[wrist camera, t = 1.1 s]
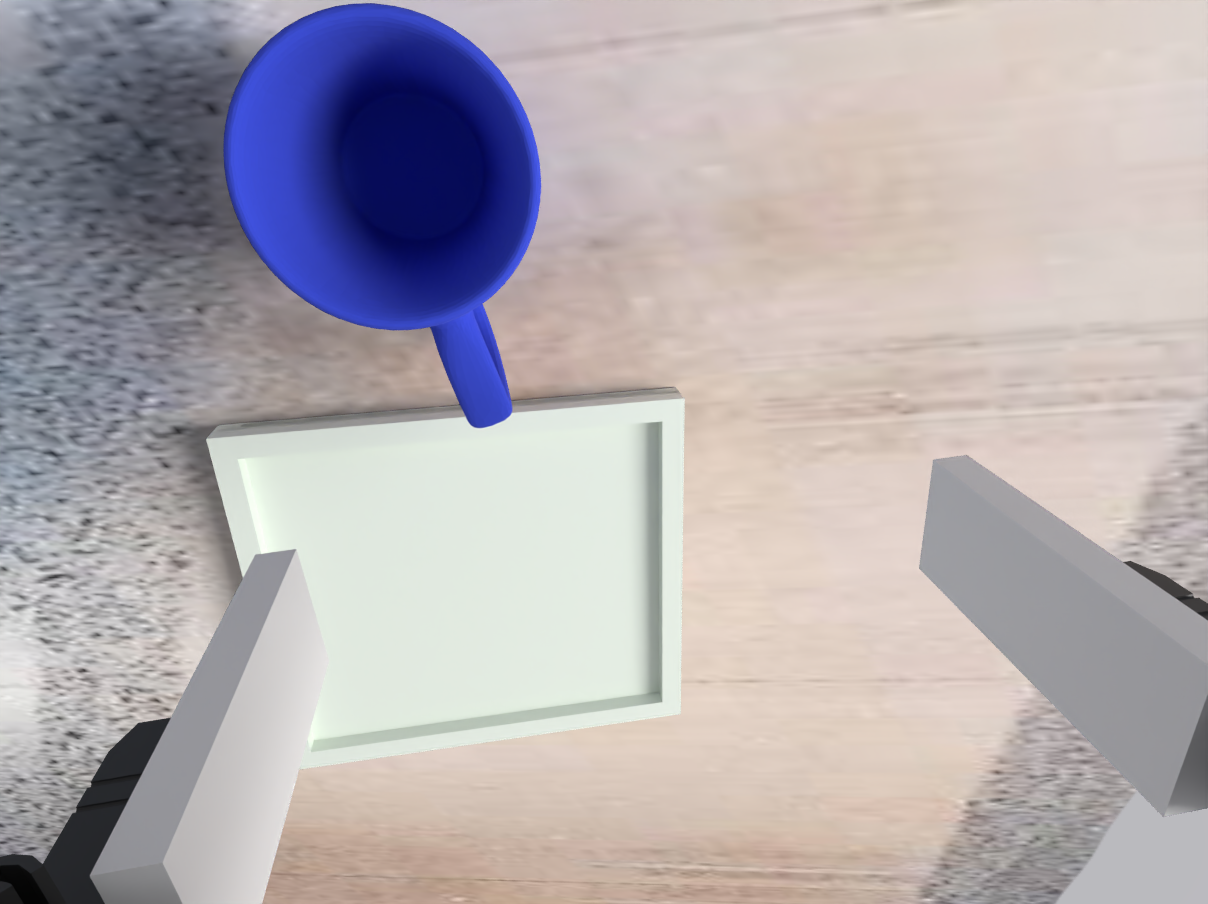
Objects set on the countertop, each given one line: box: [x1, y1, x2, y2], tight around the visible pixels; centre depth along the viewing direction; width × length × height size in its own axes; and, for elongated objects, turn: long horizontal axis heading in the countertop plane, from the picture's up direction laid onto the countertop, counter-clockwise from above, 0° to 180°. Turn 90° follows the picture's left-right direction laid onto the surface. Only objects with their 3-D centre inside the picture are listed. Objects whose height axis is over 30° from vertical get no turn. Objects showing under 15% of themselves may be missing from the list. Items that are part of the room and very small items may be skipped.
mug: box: [224, 3, 541, 428], centre depth 25 cm, size 8×12×10 cm
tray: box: [206, 387, 685, 769], centre depth 35 cm, size 18×20×2 cm
